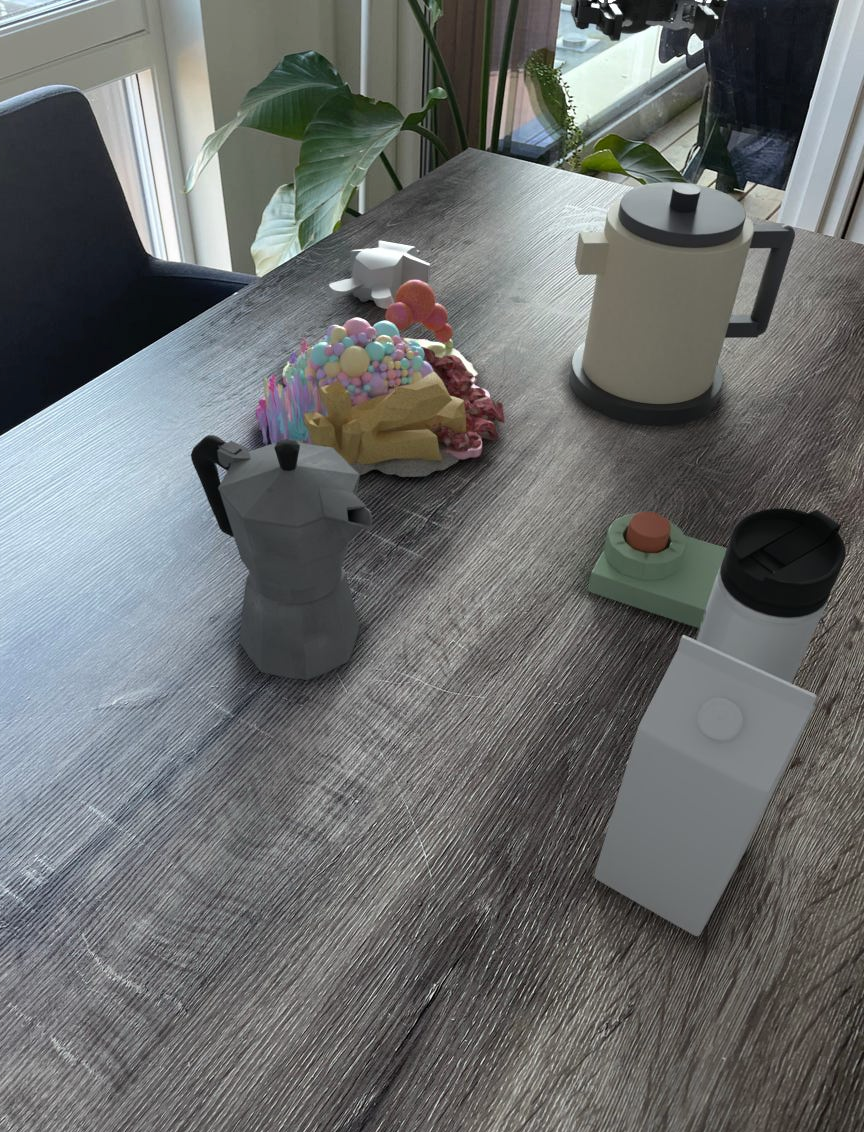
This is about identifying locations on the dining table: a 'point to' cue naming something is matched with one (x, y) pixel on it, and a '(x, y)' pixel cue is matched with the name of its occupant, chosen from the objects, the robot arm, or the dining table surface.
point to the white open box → (381, 273)
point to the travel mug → (773, 588)
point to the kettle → (669, 300)
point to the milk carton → (699, 781)
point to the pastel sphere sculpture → (384, 393)
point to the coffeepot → (289, 548)
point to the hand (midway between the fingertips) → (663, 29)
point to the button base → (658, 574)
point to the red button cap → (648, 532)
